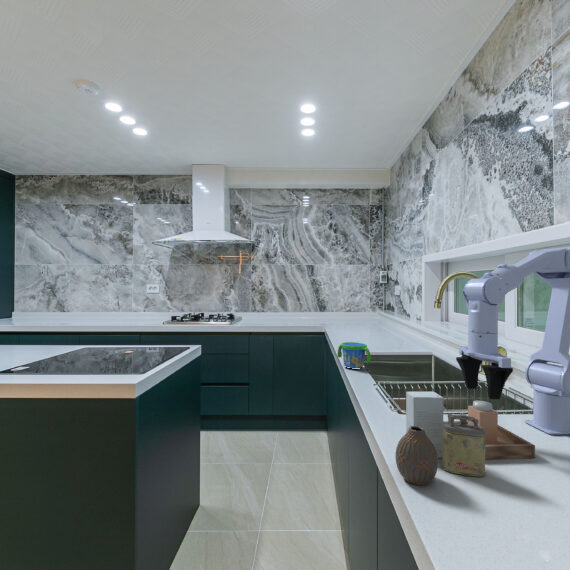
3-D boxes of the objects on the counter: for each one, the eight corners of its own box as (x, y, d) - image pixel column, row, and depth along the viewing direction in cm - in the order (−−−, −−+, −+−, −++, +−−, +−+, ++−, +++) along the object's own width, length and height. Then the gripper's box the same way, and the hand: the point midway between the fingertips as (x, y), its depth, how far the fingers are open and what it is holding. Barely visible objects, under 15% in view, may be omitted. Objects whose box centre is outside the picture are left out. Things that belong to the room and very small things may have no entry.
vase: (390, 468, 64) (391, 420, 64) (428, 469, 64) (429, 421, 64) (402, 489, 57) (402, 436, 57) (444, 491, 57) (445, 437, 57)
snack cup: (376, 370, 143) (376, 345, 143) (359, 373, 137) (359, 347, 137) (348, 363, 155) (348, 340, 156) (331, 366, 149) (331, 342, 149)
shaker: (484, 437, 77) (485, 400, 77) (497, 445, 73) (497, 406, 73) (467, 437, 77) (468, 400, 77) (479, 445, 73) (479, 406, 73)
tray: (490, 431, 82) (490, 420, 82) (534, 458, 69) (535, 445, 69) (437, 432, 81) (437, 421, 81) (473, 459, 68) (473, 446, 68)
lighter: (482, 469, 64) (483, 415, 64) (488, 480, 61) (489, 422, 61) (440, 463, 66) (441, 410, 66) (444, 473, 63) (444, 417, 63)
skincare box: (433, 448, 72) (434, 391, 72) (443, 458, 68) (444, 397, 68) (404, 448, 72) (405, 390, 72) (413, 458, 68) (413, 397, 68)
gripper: (447, 328, 84) (446, 384, 84) (488, 336, 70) (487, 404, 70) (474, 328, 85) (474, 384, 85) (520, 336, 70) (520, 403, 70)
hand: (482, 393), depth 77 cm, fingers open, 7 cm apart
